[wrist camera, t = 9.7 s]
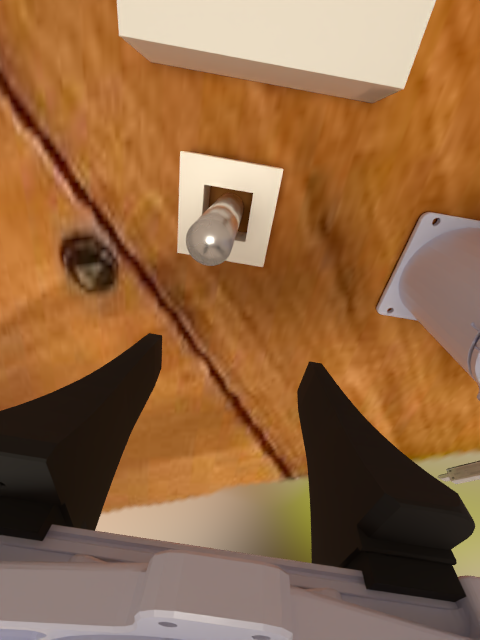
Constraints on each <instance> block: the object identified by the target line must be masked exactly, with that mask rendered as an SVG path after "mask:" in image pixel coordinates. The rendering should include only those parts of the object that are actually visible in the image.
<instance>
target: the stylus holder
mask: <svg viewBox="0 0 480 640" xmlns="http://www.w3.org/2000/svg"><path fill="white" fill-rule="evenodd" d="M282 174H283V169H282V168H280V167H274V166H269V165H263V164H257V163H252V162H246V161H241V160H235V159H229V158H224V157H218V156H213V155H207V154H201V153H196V152H190V151H180V181H179V215H178V249H177V253H182V254H188V255H190V253H189V252H188V249H187V246H186V235H187V232H188V230H189V228H190V227H191V226H192V225H193V224H194V223H195V222H196V221H197V220H198V219H199V217H200V216H201V215H202V214H203V213H204V212H205V211H206V210H207V209H208V208H209V197H210V186H216V187H221V188H227V189H233V190H239V191H244V192H250V193H253V198H252V204H251V210H250V216H249V223H248V229H247V233H244V232H239V231H237V234H236V237H235V240H234V244H233V247H232V250H231V253H230V255H229V257H228V258H227V259H226V260H225V261H229V262H235V263H241V264H247V265H253V266H259V267H263V266H264V261H265V256H266V251H267V246H268V242H269V237H270V232H271V227H272V222H273V218H274V213H275V208H276V203H277V198H278V193H279V189H280V184H281V179H282Z"/></svg>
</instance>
